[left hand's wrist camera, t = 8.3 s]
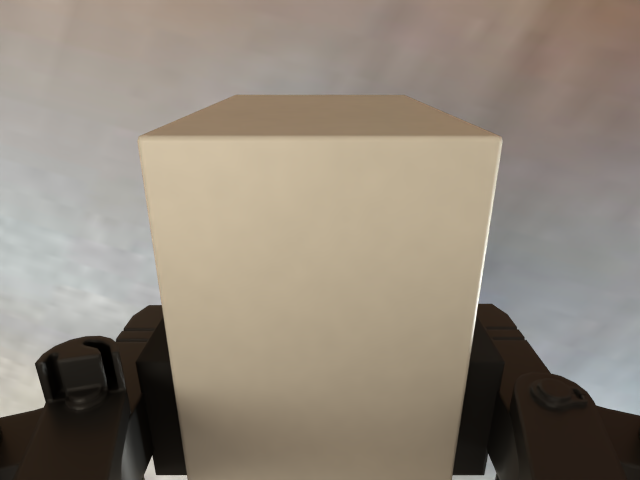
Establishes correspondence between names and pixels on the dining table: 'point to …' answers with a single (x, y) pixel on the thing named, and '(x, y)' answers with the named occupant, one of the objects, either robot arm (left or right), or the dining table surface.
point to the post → (319, 282)
